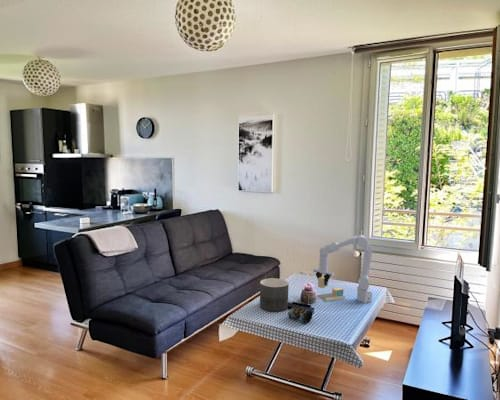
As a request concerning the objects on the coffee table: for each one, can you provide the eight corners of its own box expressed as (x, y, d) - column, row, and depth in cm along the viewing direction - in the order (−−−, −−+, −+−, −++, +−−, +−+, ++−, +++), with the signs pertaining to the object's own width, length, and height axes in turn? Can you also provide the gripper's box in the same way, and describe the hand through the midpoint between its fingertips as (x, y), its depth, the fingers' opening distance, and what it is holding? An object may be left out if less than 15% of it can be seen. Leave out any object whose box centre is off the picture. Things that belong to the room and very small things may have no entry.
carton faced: (335, 299, 255) (336, 290, 254) (332, 297, 258) (332, 288, 258) (343, 297, 257) (343, 289, 257) (339, 296, 261) (339, 287, 260)
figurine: (306, 316, 213) (284, 306, 223) (307, 328, 216) (285, 318, 226) (315, 308, 219) (293, 299, 229) (315, 320, 222) (293, 310, 232)
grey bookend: (344, 300, 256) (344, 295, 256) (326, 303, 250) (326, 298, 250) (333, 294, 267) (333, 290, 267) (315, 297, 261) (315, 292, 261)
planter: (286, 313, 232) (286, 288, 231) (257, 310, 236) (257, 285, 234) (289, 303, 250) (289, 279, 248) (262, 300, 253) (262, 277, 252)
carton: (323, 288, 256) (323, 279, 255) (317, 286, 258) (318, 278, 258) (327, 286, 260) (328, 277, 259) (322, 284, 263) (322, 276, 262)
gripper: (336, 265, 256) (335, 285, 257) (317, 261, 265) (316, 280, 267) (330, 267, 251) (330, 287, 252) (311, 263, 260) (311, 282, 262)
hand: (322, 284), depth 259 cm, fingers closed on carton, 4 cm apart
